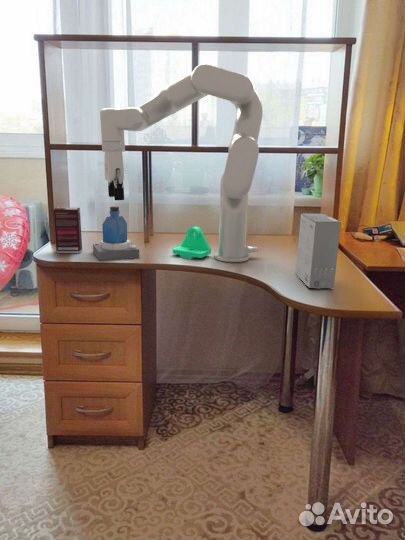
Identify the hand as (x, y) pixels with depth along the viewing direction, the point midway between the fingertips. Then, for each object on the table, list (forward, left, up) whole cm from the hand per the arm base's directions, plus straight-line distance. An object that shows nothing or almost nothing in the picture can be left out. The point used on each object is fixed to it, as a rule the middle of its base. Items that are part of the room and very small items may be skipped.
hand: (116, 198), depth 166 cm
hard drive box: (-49, +49, -20) cm, 72 cm away
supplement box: (+16, -9, -20) cm, 27 cm away
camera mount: (-25, +9, -21) cm, 33 cm away
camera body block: (+1, 0, -20) cm, 20 cm away
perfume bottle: (+1, 0, -15) cm, 15 cm away
